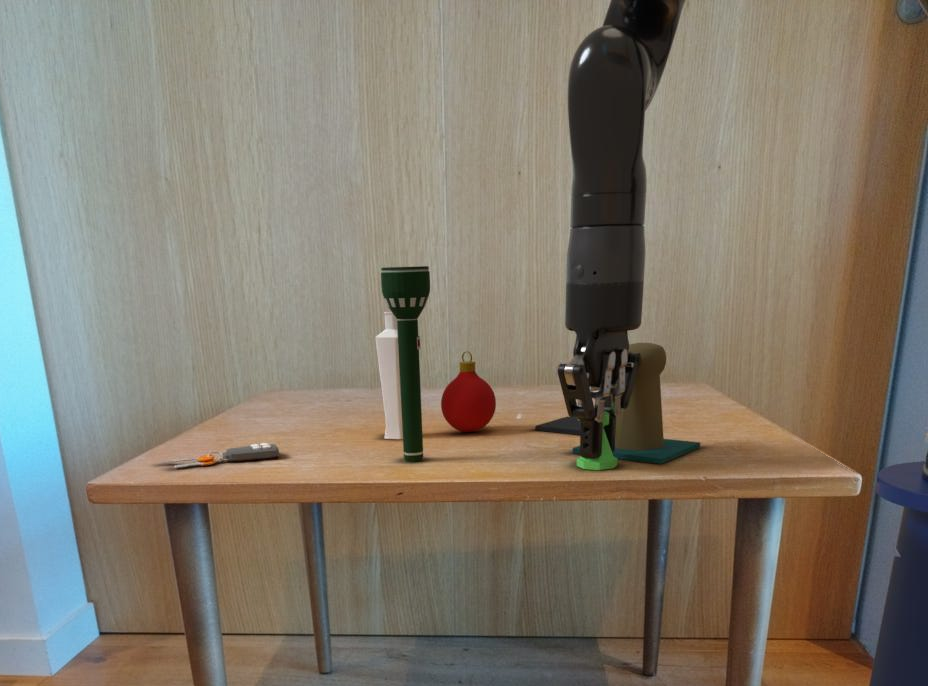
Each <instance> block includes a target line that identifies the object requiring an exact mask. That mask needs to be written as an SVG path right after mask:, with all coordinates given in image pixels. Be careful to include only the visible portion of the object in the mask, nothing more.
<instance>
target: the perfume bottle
mask: <svg viewBox="0 0 928 686" xmlns="http://www.w3.org/2000/svg"><path fill="white" fill-rule="evenodd" d="M383 315H384V328H385V329H384V330H383V331H381V332H380V333H379V334H377V335H376V336H375V337H374V338H375V339H374V340H375V346H376V354H377V361H378V371H379V379H380V386H381V394H382V402H383V403H382V404H383V412H384V420H385V431H384V437H383V439H387V440H403V430H402V410H401V390H400V370H399V351H398V331H397V318H396V317H395V316H394V314H393V313H392V311H383Z"/></svg>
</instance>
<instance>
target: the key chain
mask: <svg viewBox="0 0 928 686" xmlns="http://www.w3.org/2000/svg"><path fill="white" fill-rule="evenodd" d="M213 454H218V455H220V457H217V458H215V455H213ZM279 456H280V449H279V447H278V446H277V445H276V444H274V443H269V442H262V443H260V444H259V443H252V444H250V445H248V446H238V447H232V448H227V449H226V451H225V452H221V451H219V450H211V451H209V452H207V454H206V455H201V456H199V457H192V458H191V457H190V458H179V459H172V460H163V461H162V463H163V464H166V463H178V462H179V463H180V462H188V461H189V462H190V461H195V462H190V463H182V464H176V465H174V466H173V468H175V469H181V468H189V467H194V466H209V465H213V464H215V463H220V462H222V461H223V460H228V461H229V462H242V461H243V462H244V461H253V460H262V459H263V460H264V459H273V458H277V457H279Z"/></svg>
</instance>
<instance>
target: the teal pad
mask: <svg viewBox="0 0 928 686" xmlns="http://www.w3.org/2000/svg"><path fill="white" fill-rule="evenodd" d="M700 448H701V442H699V441H690V440H681V439H670V438H664V446H663V447H662V448H659V449H653V450H623V449H617V448H615V450H614V452H613V453H612V454H613V456H614V457H616V458H618V460H623V461H624V460H626V461H634V462H641V463H642V462H643V463H649V464H650V463H651V464H659V465H663V464H664V463H665V464H666V463H667V462H669V461H671V460H674V459H677V458H679V457H682V456H683V455H686V454H688V453H691V452H693V451H695V450H698V449H700ZM571 451H572V454H574V455H575V454H576V455H580V445H578V446H575V447H572V450H571Z"/></svg>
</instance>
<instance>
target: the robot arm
mask: <svg viewBox="0 0 928 686" xmlns="http://www.w3.org/2000/svg"><path fill="white" fill-rule="evenodd" d="M686 1H687V0H610V2H609V4H608V8H607V11H606V14H605V18H604V20H603V23H602V26H600V27H597V28H596V29H594V30H592V31H591V32H589V34H587V36H585V38H584V39H582V41H580V44H579V45H578V47H577V48H576V50H575V52H574V54H573V57H572V60H571V63H570V66H569V71H568V78H567V79H568V80H567V120H568V132H569V133H568V134H569V144H570V154H571V163H572V164H571V165H572V182H571V191H570V219H569V221H570V223H569V224H570V225H569V226H570V228H569V236H568V237H569V238H568V243H567V251H566V272H565V275H566V276H565V315H564V317H565V319H564V327H566V329H567V331H571V332H574V333H575V334H576V337H575V343H574V346H573V350H572V357H573V358H572V359H571V360H570V361H569V363H559V364H558V366H557V376H558V379H559V383H560V387H561V392H562V396H563V399H564V404H565V406H566V407H565V408H566V411H567V415H568V417H575V418H577V420H578V421H580V423H581V433H580V435H579V437H580V438H579V442H580V443H579V446H580V454H579V455H580V456H581V457H583V458H589V459H597V458H599V457H600V456H601V454H602V432H603V428H604V430H605V433H606V436H607V439H608V442H609V445H610V448H611V451H612V453H613V452H614V450H615V432H616V417H619V415H620V413H621V409H622V408H623V409H626V408H627V407H628V405H629V401H630V398H631V394H632V391H633V387H634V383H635V380H636V376H637V372H638V369H639V365H640V361H641V355H640V353H631V352H630V351H629V345H630V342H629V334H628V331H634V330H637V329H639V328H640V327H641V325H642V317H643V316H642V315H643V301H644V299H643V298H644V287H645V286H644V285H645V284H644V283H645V270H646V269H645V267H646V240H645V238H646V237H645V236H646V235H645V221H646V220H645V218H646V204H647V203H646V202H647V187H648V186H647V184H648V183H647V182H648V181H647V168H646V164H645V159H644V155H643V150H644V149H643V148H644V136H645V135H644V134H645V132H644V131H645V115H646V112H647V110H648V108H649V106H650V105H651V103H652V102H653V99H654V97H655V95H656V93H657V90H658V88H659V85H660V84H661V80H662V77H663V75H664V71H665V68H666V66H667V62H668V59H669V56H670V53H671V49H672V46H673V43H674V40H675V36H676V34H677V30H678V27H679V23H680V19H681V16H682V12H683V10H684V6H685V3H686ZM917 2H918V3H919V5H920V6H921V8H922V9H923V11H924V12H925V13H926V16H928V0H917ZM621 394H622V396H621ZM604 411H606V412H608V413H609V424H608V425H606V426H604V427H603V422H602V420H603V414H604ZM925 433H926V434H925V437H924V438H925V439H924V442H925V443H927V444H928V427H926V432H925ZM925 461H926V463H925V464H924V467H923V472H922V478H923V479H925V480H926V481H928V451H927V452H926V456H925Z"/></svg>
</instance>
